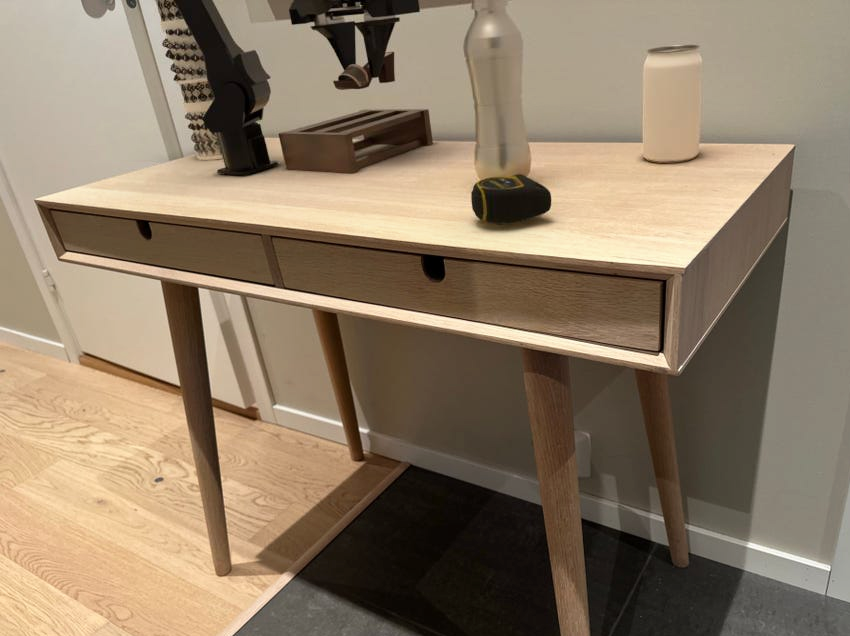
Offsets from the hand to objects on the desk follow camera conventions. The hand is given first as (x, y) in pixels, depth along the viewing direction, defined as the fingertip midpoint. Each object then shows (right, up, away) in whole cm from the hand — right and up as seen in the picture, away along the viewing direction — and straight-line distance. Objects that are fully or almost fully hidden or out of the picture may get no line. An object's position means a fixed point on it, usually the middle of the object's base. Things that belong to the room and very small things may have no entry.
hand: (363, 77), depth 96 cm
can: (+39, -15, -12) cm, 43 cm away
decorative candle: (-27, -4, +21) cm, 35 cm away
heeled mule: (0, -1, +1) cm, 1 cm away
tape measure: (+19, -25, -28) cm, 42 cm away
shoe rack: (-1, -9, +8) cm, 12 cm away
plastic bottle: (+19, -19, -16) cm, 31 cm away
